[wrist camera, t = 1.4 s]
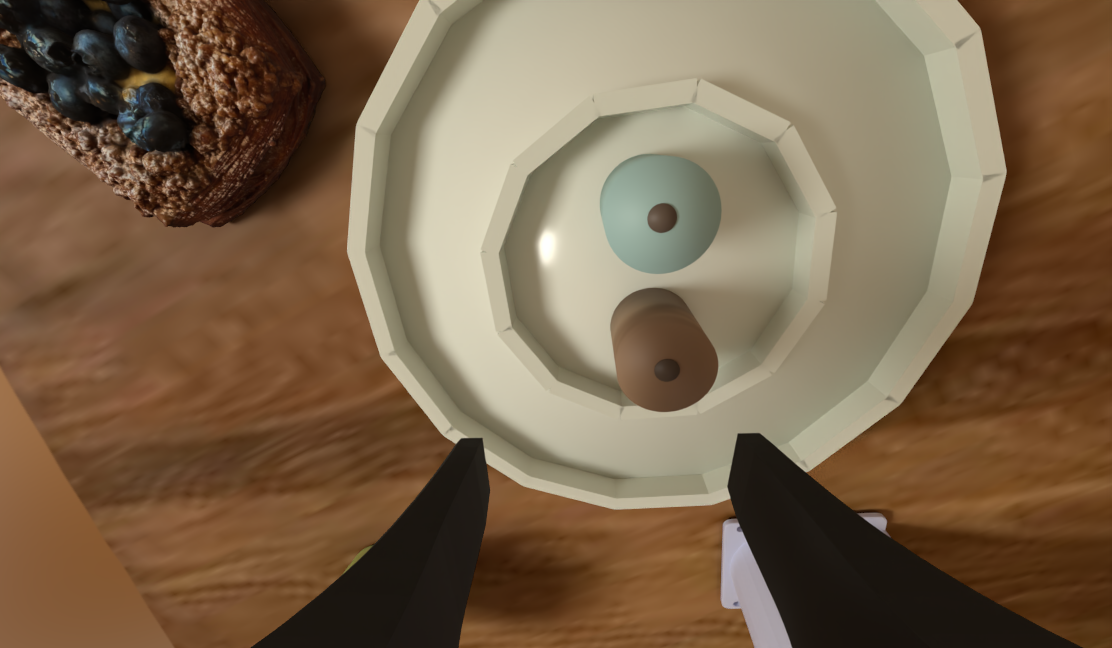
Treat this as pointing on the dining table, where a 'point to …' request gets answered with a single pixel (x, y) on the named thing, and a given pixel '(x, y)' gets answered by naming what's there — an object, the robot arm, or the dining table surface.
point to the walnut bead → (661, 351)
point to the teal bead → (659, 212)
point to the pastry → (163, 96)
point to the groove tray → (727, 265)
